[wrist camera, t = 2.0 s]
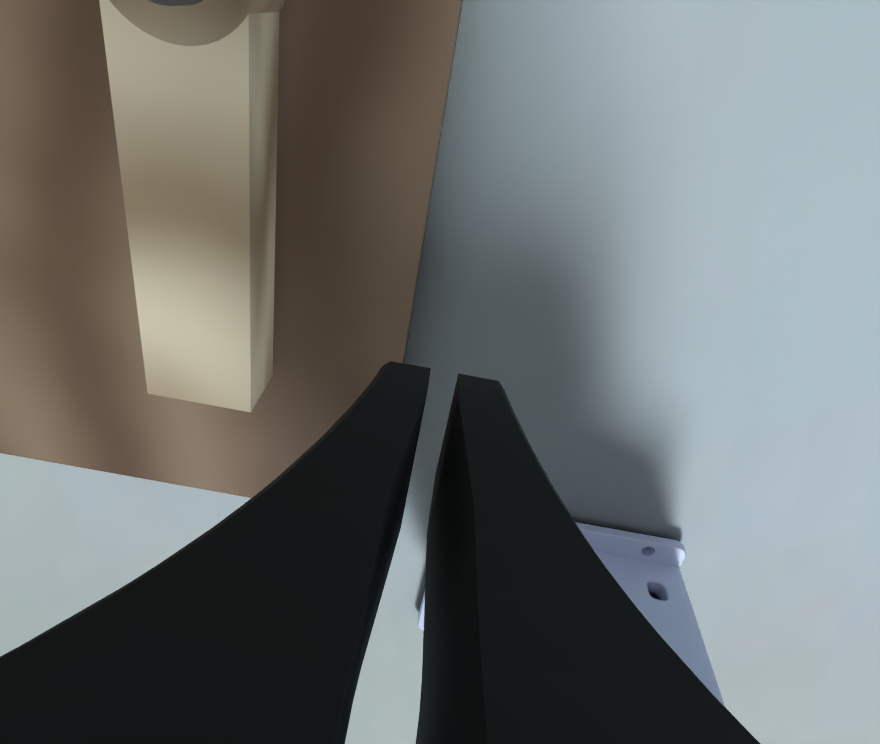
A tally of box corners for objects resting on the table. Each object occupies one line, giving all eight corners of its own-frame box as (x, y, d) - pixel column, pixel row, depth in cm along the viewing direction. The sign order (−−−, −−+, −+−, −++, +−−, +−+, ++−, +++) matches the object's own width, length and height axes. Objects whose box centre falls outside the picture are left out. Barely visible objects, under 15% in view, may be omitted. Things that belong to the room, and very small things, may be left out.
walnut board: (480, -110, 13) (479, -118, 12) (380, 501, 23) (376, 520, 22) (-404, -296, 12) (-470, -318, 11) (-106, 414, 23) (-128, 429, 22)
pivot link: (124, -180, 12) (32, -226, 9) (299, -144, 12) (252, -180, 10) (172, 352, 19) (126, 403, 16) (283, 373, 19) (253, 427, 16)
